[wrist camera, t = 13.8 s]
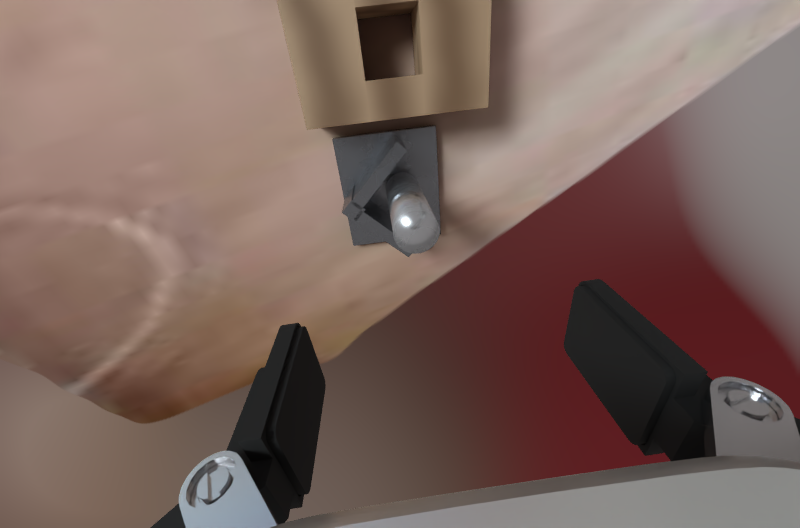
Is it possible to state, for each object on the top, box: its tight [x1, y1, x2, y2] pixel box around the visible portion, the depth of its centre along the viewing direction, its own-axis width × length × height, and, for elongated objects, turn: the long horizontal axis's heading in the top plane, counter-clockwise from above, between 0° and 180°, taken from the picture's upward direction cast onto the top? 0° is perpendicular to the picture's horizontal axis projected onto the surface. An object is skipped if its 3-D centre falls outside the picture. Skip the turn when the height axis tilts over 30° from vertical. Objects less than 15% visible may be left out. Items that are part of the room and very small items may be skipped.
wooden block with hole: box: [277, 0, 492, 130], centre depth 27 cm, size 16×11×5 cm
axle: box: [386, 172, 440, 253], centre depth 30 cm, size 4×4×12 cm
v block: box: [332, 125, 441, 257], centre depth 33 cm, size 12×10×6 cm
